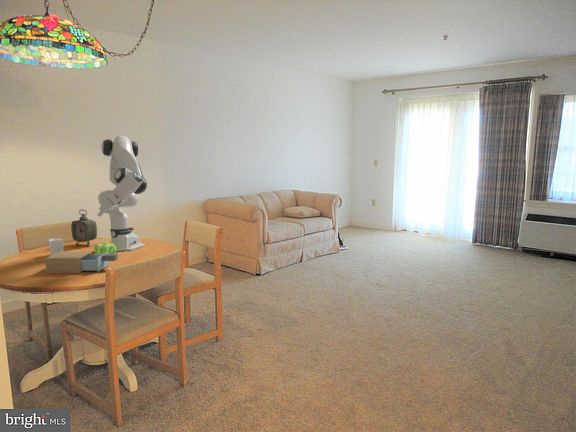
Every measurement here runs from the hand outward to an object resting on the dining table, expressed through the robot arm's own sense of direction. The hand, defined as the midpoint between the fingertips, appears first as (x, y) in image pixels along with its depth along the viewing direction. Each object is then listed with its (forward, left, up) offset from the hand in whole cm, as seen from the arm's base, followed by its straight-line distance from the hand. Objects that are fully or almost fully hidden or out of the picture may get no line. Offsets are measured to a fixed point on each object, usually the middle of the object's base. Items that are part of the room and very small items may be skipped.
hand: (102, 213), depth 224 cm
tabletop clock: (-29, -56, -30) cm, 70 cm away
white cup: (-3, -48, -30) cm, 57 cm away
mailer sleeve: (+13, -13, -30) cm, 35 cm away
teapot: (-12, -15, -30) cm, 36 cm away
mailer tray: (+6, -2, -29) cm, 30 cm away
